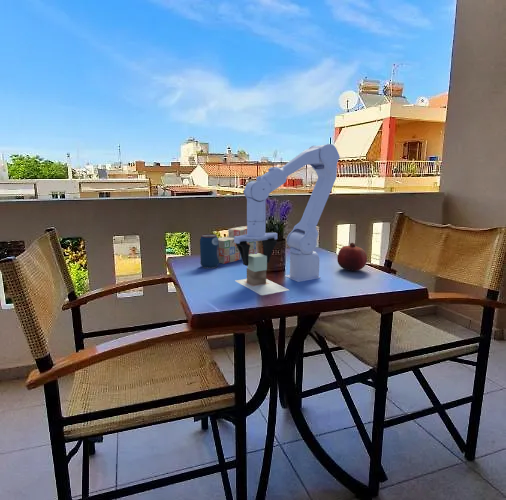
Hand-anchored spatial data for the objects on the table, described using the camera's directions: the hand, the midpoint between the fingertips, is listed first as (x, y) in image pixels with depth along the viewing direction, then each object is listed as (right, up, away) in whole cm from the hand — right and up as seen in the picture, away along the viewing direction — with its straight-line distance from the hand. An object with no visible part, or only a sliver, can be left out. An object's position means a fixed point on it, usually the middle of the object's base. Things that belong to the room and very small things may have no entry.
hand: (256, 263), depth 118 cm
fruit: (+34, -3, +17) cm, 39 cm away
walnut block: (0, -6, +1) cm, 6 cm away
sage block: (0, -2, 0) cm, 2 cm away
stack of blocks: (-8, +1, +37) cm, 38 cm away
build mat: (+1, -7, -1) cm, 7 cm away
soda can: (-17, -2, +23) cm, 29 cm away
